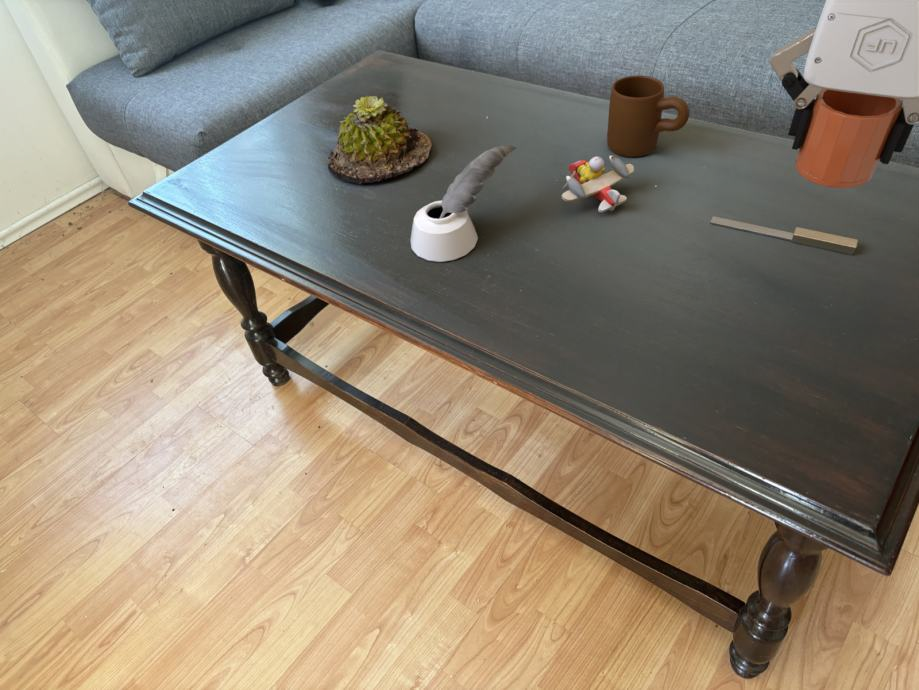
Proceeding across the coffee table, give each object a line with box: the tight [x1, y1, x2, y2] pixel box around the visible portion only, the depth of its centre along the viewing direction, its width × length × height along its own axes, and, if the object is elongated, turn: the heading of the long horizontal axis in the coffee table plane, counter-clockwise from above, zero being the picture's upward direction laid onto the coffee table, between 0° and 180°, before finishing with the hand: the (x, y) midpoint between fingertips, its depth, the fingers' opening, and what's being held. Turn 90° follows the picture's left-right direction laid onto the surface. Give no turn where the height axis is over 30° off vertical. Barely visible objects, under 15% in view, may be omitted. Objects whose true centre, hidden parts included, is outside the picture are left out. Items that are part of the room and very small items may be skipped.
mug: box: [606, 74, 691, 158], centre depth 96 cm, size 12×8×9 cm, turn 50°
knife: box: [709, 215, 859, 256], centre depth 83 cm, size 17×2×1 cm, turn 61°
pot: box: [795, 89, 903, 189], centre depth 61 cm, size 7×7×7 cm
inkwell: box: [410, 144, 517, 263], centre depth 87 cm, size 9×18×10 cm, turn 131°
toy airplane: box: [560, 155, 635, 214], centre depth 89 cm, size 9×9×6 cm
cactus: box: [327, 95, 433, 185], centre depth 102 cm, size 17×16×10 cm
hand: (840, 148), depth 62 cm, fingers closed on pot, 6 cm apart
